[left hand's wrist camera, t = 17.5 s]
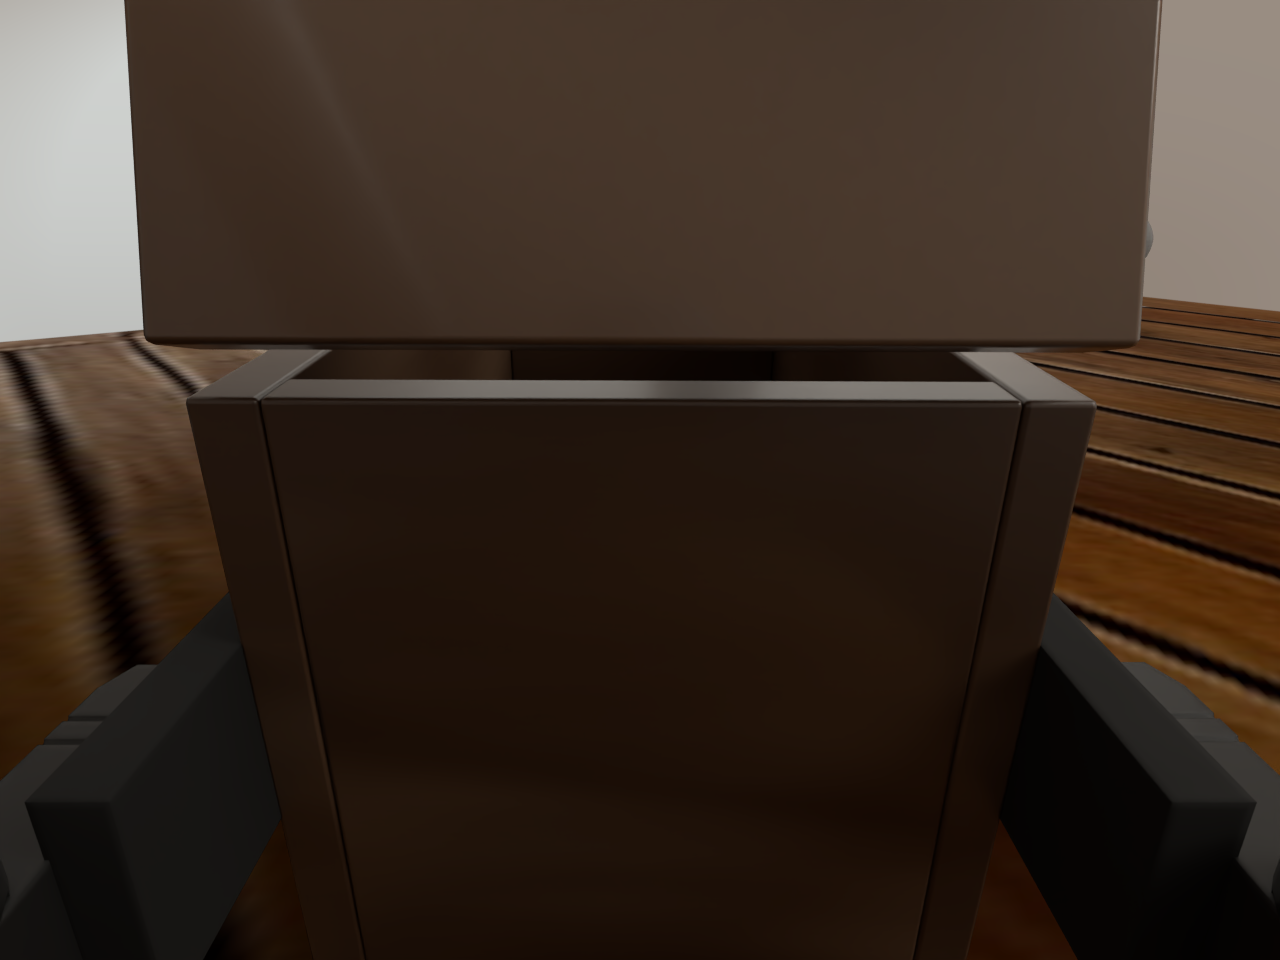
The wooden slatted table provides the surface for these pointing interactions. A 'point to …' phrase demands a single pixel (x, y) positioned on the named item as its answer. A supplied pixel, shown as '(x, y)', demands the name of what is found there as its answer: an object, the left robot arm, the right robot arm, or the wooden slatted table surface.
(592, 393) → the chest
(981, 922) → the wooden slatted table surface
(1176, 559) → the wooden slatted table surface
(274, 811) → the left robot arm
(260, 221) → the lid
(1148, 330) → the wooden slatted table surface
